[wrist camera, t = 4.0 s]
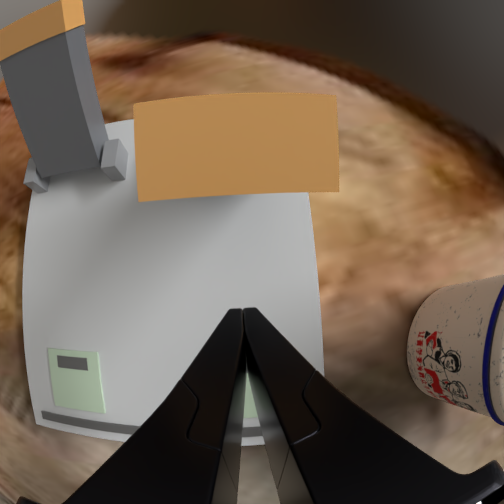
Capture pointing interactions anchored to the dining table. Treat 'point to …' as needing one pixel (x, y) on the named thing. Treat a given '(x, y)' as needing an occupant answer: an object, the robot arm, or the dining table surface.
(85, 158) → the block
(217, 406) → the robot arm
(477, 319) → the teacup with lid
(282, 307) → the switch unit
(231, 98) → the rocker
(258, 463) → the dining table surface
